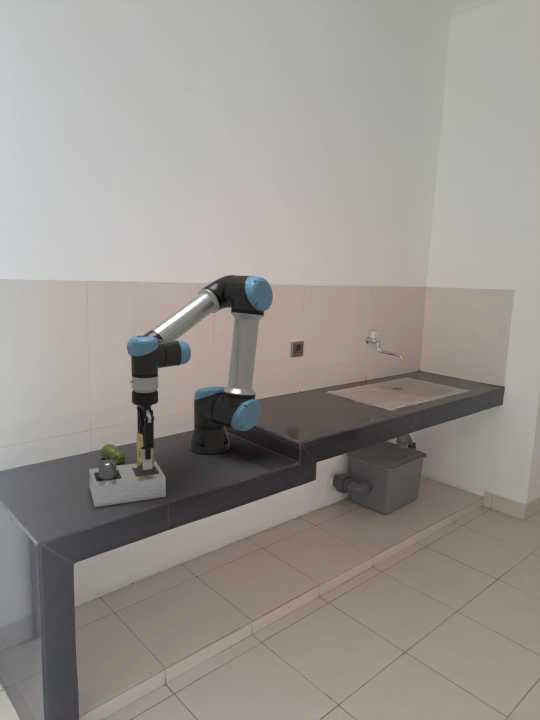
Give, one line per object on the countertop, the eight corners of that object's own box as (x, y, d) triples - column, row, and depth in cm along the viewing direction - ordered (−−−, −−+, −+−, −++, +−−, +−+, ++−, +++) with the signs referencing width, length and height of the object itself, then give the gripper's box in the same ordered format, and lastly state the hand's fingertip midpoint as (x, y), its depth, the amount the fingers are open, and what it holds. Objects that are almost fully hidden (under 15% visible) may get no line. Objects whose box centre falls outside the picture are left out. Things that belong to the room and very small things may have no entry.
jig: (155, 479, 167) (155, 449, 165) (165, 496, 154) (165, 464, 153) (89, 487, 159) (88, 456, 157) (94, 507, 146) (93, 473, 145)
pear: (111, 440, 186) (129, 451, 180) (110, 453, 187) (128, 465, 182) (98, 444, 181) (116, 455, 176) (96, 457, 183) (115, 469, 177)
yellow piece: (152, 462, 161) (151, 431, 159) (155, 468, 156) (155, 435, 155) (135, 464, 159) (135, 432, 157) (138, 470, 154) (138, 437, 153)
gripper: (126, 384, 160) (128, 457, 164) (137, 398, 144) (138, 478, 148) (151, 382, 163) (152, 454, 167) (164, 396, 147) (164, 474, 151)
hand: (145, 465), depth 158 cm, fingers closed on yellow piece, 5 cm apart
